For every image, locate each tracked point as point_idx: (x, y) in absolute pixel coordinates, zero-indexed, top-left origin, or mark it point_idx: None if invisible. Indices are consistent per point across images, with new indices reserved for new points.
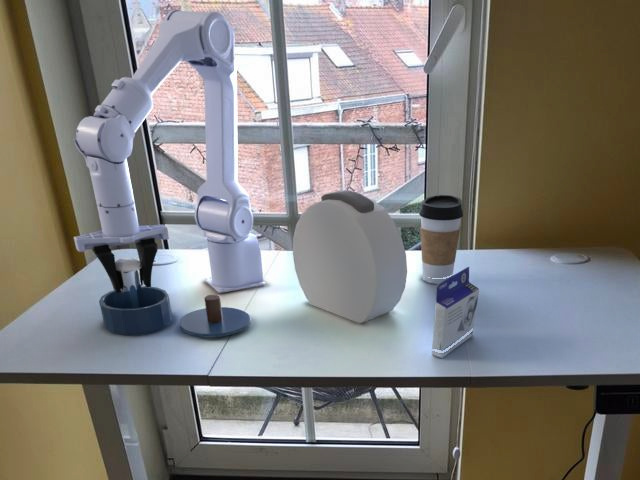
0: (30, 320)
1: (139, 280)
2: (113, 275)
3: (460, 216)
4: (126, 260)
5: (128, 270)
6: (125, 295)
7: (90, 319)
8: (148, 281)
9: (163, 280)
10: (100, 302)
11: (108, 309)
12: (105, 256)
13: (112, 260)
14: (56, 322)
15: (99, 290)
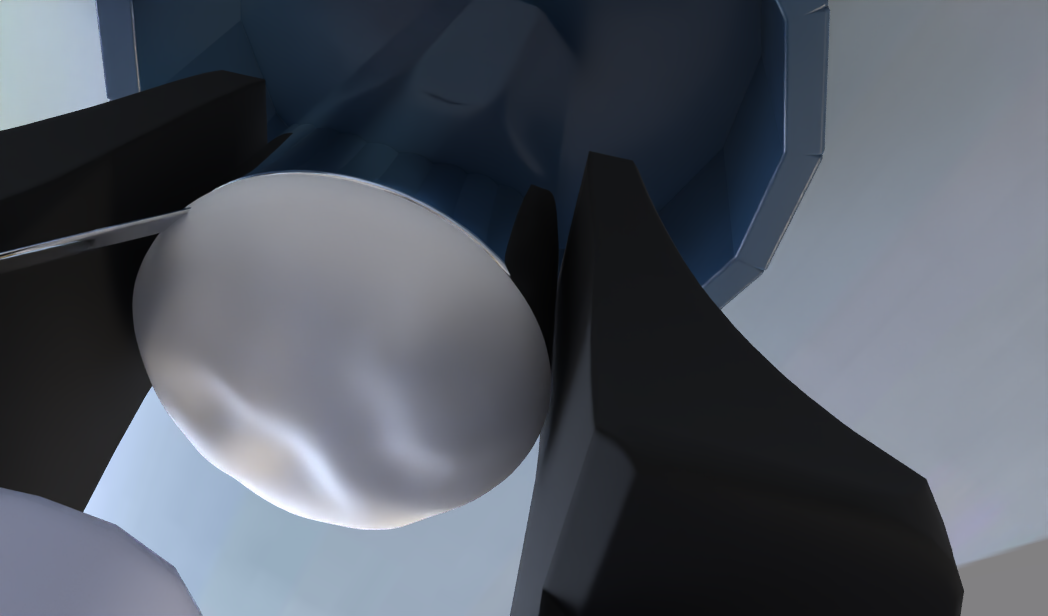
0: (1014, 512)
1: (310, 119)
2: (650, 261)
3: None
4: (319, 410)
5: (400, 200)
6: (548, 123)
7: (745, 314)
8: (205, 87)
9: (125, 494)
10: (783, 228)
11: (826, 30)
12: (837, 477)
13: (644, 384)
14: (936, 405)
15: (474, 581)
